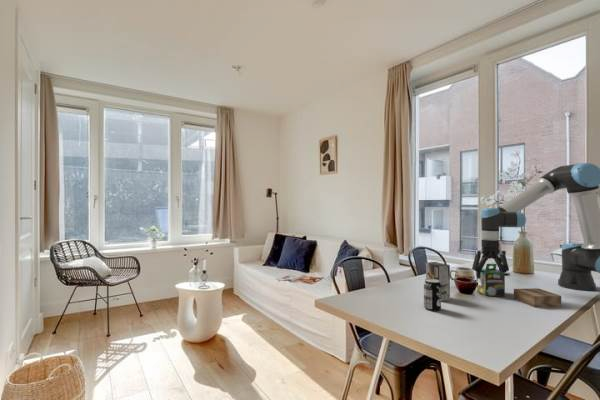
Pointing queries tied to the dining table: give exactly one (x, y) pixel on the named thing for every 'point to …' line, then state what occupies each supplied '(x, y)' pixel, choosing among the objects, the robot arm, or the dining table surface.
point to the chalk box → (492, 281)
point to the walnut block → (537, 297)
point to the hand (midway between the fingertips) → (490, 285)
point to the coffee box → (440, 277)
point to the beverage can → (432, 294)
